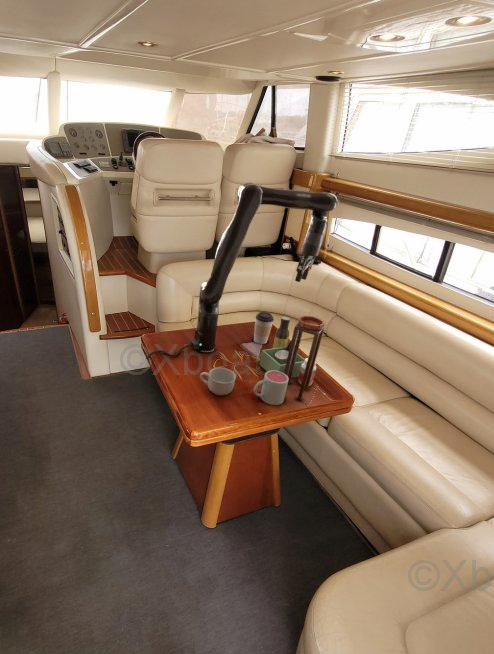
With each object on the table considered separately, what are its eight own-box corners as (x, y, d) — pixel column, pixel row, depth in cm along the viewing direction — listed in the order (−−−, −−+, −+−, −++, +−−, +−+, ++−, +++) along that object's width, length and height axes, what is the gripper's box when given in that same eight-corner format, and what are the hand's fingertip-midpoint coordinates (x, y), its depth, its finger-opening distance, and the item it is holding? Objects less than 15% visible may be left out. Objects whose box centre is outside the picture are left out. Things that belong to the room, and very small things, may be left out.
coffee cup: (268, 337, 202) (273, 311, 195) (269, 345, 194) (275, 318, 187) (251, 335, 202) (256, 309, 195) (251, 343, 195) (256, 316, 187)
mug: (275, 390, 159) (280, 369, 154) (288, 403, 152) (293, 381, 147) (246, 394, 154) (250, 373, 150) (257, 408, 147) (261, 386, 142)
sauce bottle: (286, 359, 183) (295, 321, 173) (274, 360, 181) (282, 321, 172) (281, 353, 188) (289, 315, 178) (269, 353, 187) (277, 315, 177)
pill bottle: (306, 378, 170) (312, 356, 164) (314, 385, 165) (321, 363, 159) (294, 379, 167) (300, 357, 162) (302, 387, 163) (308, 364, 157)
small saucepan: (287, 346, 185) (287, 335, 181) (300, 349, 181) (300, 337, 177) (273, 368, 174) (272, 357, 170) (287, 371, 171) (286, 360, 167)
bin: (276, 380, 166) (280, 365, 162) (259, 364, 177) (261, 350, 173) (303, 375, 171) (307, 361, 167) (284, 360, 182) (287, 346, 178)
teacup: (235, 387, 158) (238, 371, 154) (229, 401, 149) (232, 384, 145) (203, 379, 161) (205, 363, 157) (195, 393, 152) (197, 375, 148)
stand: (286, 381, 165) (303, 313, 150) (307, 389, 162) (327, 319, 146) (278, 393, 157) (295, 321, 142) (300, 401, 154) (320, 328, 138)
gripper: (316, 246, 156) (303, 285, 163) (325, 244, 167) (313, 280, 174) (298, 241, 159) (287, 279, 166) (308, 240, 170) (297, 276, 178)
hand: (300, 280), depth 170 cm, fingers open, 8 cm apart
